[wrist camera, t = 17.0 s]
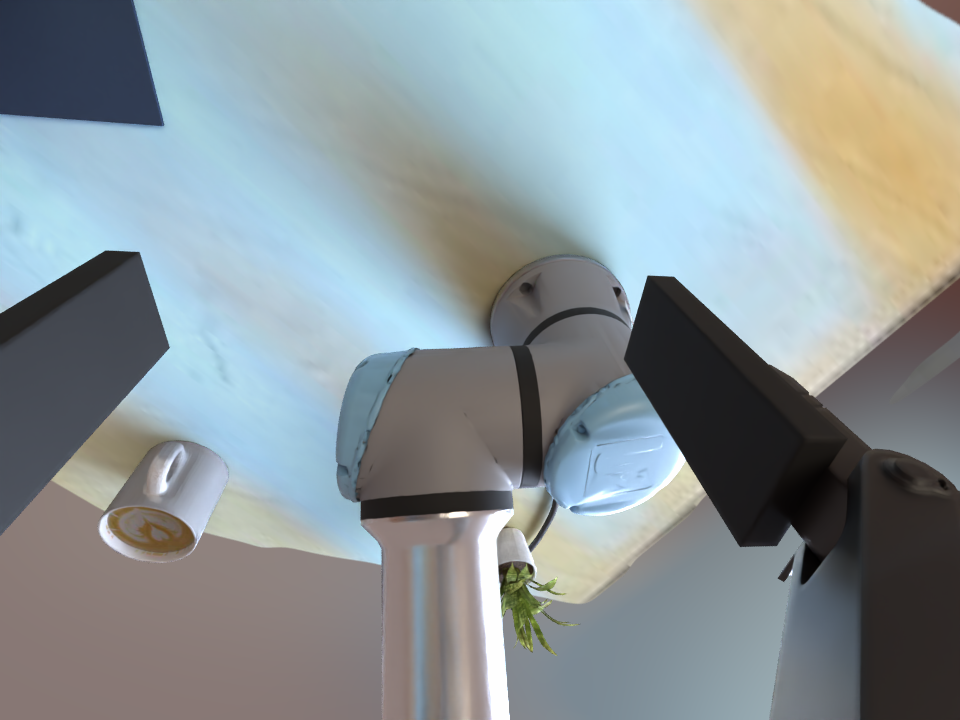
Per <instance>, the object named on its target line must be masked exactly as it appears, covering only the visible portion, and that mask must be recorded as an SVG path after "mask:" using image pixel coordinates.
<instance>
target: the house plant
mask: <svg viewBox="0 0 960 720" xmlns="http://www.w3.org/2000/svg"><path fill="white" fill-rule="evenodd" d="M496 546H497V559H498V572H499V586H500V597H501V596H502V595H503V593H504V596H503V598H502V600H503V603H502V606H501V613H502V618H503V616H504V615H505V612H506V610H507V609H511V608H512V612H513V619H514V626H515V630H516V634H517V636H518V637H517V640H518V638H519V641H520V642H521V644H522V645H523V647H524V648H526V647H527V648H528V649H529V650H530V651H531V652H532V651H533V644H532V636H531V628H530V623H529V620H530V622H531V624H532V626H533V628H534V631H535V633H536V635H537V637H538V639H539V641H540V642H541V644H542V645H543V647H545V648H546V649H547V650H548V651H549V652H551V653H552V654H555V652H554V651H552V649H551V648H550V647H549V645H548V644H547V642H546V640H545V639H544V637H543V634H542V632H541V630H540V628H539V625H538V624H537V622H536V621H535V619H534V617H533V615H535V614H537V613H538V612H540V611H541V610H543V608H546V607H547V606H548V605H550V603H551V602H552V600H551V601H550V602H548V603H546V604H545V605H543V606H541V605H540V603H541V602H538V601H537V600H536V599H535V598H534V597H533V596H532V595H531V594H530V592H529V591H528V589H527V587H526V585H528V584H529V583H530V582H533V583H535V584H537V585H539V586H540V587H538V588H535V587H532V586H530V585H529V586H530V587H531V588H533V589H536V590H538V591H545V590H547V591H548V592H550V593H552V594H555V595H565V594H563V593H556V592H553V591H551V590H549V589H551V588H553V587H554V585H555V583H556V580H557V578H556V579H554V580H552V581H550V582H548V583H547V584H545V585H541V584H539V583H537V582H535V581H533V580H534V578H535V577H536V574H537V569H536V566H535V564H534V561H533V559H532V556H531V553H530V551H529V548H528V545H527V543H526V540H525V538H524V535H523V533H522V532H521V531H520V530H518V529H516V528H503V529H501V531H500V532H499V534H498V536H497V539H496ZM504 591H505V592H504ZM502 600H501V602H502ZM546 601H547V599H546V600H545V601H544V602H543V603H545V602H546ZM541 612H542V611H541ZM542 613H543V612H542ZM543 614H544V613H543ZM544 615H545V616H547V615H546V614H544ZM527 616H528V617H527ZM548 616H549V615H548ZM548 616H547V617H548ZM528 618H529V620H528ZM548 618H549V617H548ZM549 619H550V620H552V618H551V617H550V618H549ZM552 621H553V622H555V623H557V624H560V625H564V626H574V625H577V624H572V625H571V624H562V623H567V622H559V621H556V620H554V619H553V620H552ZM524 623H525V629H526V634H525V631H524V628H523V625H524ZM526 635H527V637H526ZM528 644H529V645H528ZM525 645H526V647H525ZM529 646H530V647H529ZM555 655H556V654H555Z"/></svg>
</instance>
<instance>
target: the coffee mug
mask: <svg viewBox="0 0 960 720" xmlns="http://www.w3.org/2000/svg"><path fill="white" fill-rule="evenodd" d="M228 478H229V472H228V468H227V466H226V464H225V462H224V461H223V460H222V459H221V458H220V457H219V456H218V455H217V454H216V453H214V452H213V451H211V450H210V449H208V448H206V447H204V446H201V445H199V444H195V443H191V442H186V441H168V442H164V443H161V444H158V445H156V446H154V447H152V448H151V449H150V450H149V451H148V452H147V454H146V455H145V457H144V458H143V459H142V461H141V462H140V464H139V465H138V466H137V468H136V469H135V470H134V472H133V473H132V475H131V476H130V477H129V479H128V480H127V482H126V483H125V484H124V486H123V487H122V489H121V490H120V491H119V493H118V494H117V495H116V497H115V498H114V500H113V501H112V502H111V504H110V505H109V507H108V508H107V509H106V511H105V512H104V514H103V515H102V517H101V518H100V520H99V523H98V531H99V534H100V537H101V539H102V540H103V541H104V542H105V543H106V544H107V545H108V546H109V547H110V548H112V549H113V550H115V551H116V552H118V553H120V554H122V555H124V556H126V557H129V558H132V559H135V560H139V561H144V562H154V563H165V562H172V561H176V560H180V559H182V558H184V557H186V556H188V555H189V554H190V553H191V552H192V551H193V550H194V549H195V547H196V545H197V543H198V541H199V539H200V537H201V535H202V533H203V531H204V529H205V527H206V525H207V523H208V520H209V518H210V516H211V514H212V512H213V510H214V508H215V506H216V504H217V502H218V500H219V498H220V496H221V494H222V492H223V490H224V487H225V485H226V483H227V481H228Z"/></svg>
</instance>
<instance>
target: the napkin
mask: <svg viewBox="0 0 960 720" xmlns="http://www.w3.org/2000/svg"><path fill="white" fill-rule="evenodd" d="M0 114H9V115H22V116H35V117H49V118H62V119H76V120H89V121H102V122H116V123H129V124H143V125H156V126H164V123H163V119H162V115H161V111H160V107H159V103H158V99H157V95H156V91H155V87H154V83H153V79H152V75H151V71H150V67H149V63H148V59H147V55H146V51H145V47H144V43H143V39H142V35H141V31H140V27H139V23H138V19H137V15H136V11H135V7H134V3H133V0H0Z"/></svg>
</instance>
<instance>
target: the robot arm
mask: <svg viewBox="0 0 960 720" xmlns="http://www.w3.org/2000/svg"><path fill="white" fill-rule="evenodd" d="M631 322H632V324H633V328H632V330H631ZM490 330H491V335H492V340H493V344H494V346H492V347H473V348H454V349H423V350H420V349H419V348H411V349H409V350H407V351H400V352H391V353H380V354H374V355H371V356H369V357H367V358H365V359H364V360H363V361H362V362H361V363H360V364H359V365H358V366H357V367H356V369H355V371H354V373H353V374H352V376H351V378H350V380H349V383H348V385H347V388H346V391H345V395H344V398H343V402H342V407H341V412H340V417H339V424H338V432H337V441H336V462H337V463H338V467H337V483H338V487H339V490H340V492H341V494H342V496H343V497H344V498H346V499H349V500H351V501H352V502H355V503H356V502H361V526H362V527H363V528H364V529H365V530H367V531H368V532H369V533H370V534H371V535H372V536H373V537H374V538H375V539H376V540H377V541H378V543H379V545H380V547H381V549H382V720H509V707H508V694H507V680H506V668H505V667H506V666H505V653H504V640H503V627H502V613H501V599H500V586H499V572H498V559H497V546H496V539H497V536H498V534H499V532H500V531H501V529H502V528H503V527H504V526H505V524H506V523H507V522H508V520H509V519H510V518H511V516H512V515H513V514H514V509H513V499H512V490H513V489H519V488H533V487H546V489H547V491H548V492H549V495H551V496H552V497H553V498H554V499H553V504H552V507H551V510H550V513H549V515H548V517H547V519H546V521H545V523H544V525H543V526H542V528H541V530H540V531H539V533H538V535H537V536H536V538H535V539H534V541H533V542H532V543H531V544H530V546H529V547H528V548H529V551H530V553H531V552H532V551H533V550H534V548H535V547H536V546H537V545H538V543H539V542H540V540H541V539H542V537H543V536H544V534H545V532H546V531H547V529H548V527H549V526H550V524H551V522H552V520H553V518H554V516H555V514H556V511H557V508H558V505H560V506H561V507H563V508H569V509H570V510H571V511H572V512H573V513H576V514H580V515H588V516H600V515H608V514H613V513H617V512H621V511H624V510H627V509H629V508H632V507H634V506H636V505H638V504H640V503H642V502H644V501H645V500H647V499H649V498H651V497H652V496H654V495H655V493H656V492H657V491H658V490H660V489H661V488H663V487H664V486H666V485H667V484H668V483H669V482H670V481H671V480H672V479H673V478H674V477H675V475H676V474H677V473H678V471H679V470H680V469H681V467H682V465H683V464H684V462H685V460H686V461H687V462H688V464H689V466H690V467H691V469H692V470H693V472H694V474H695V475H696V477H697V478H698V480H699V482H700V483H701V485H702V487H703V488H704V490H705V491H706V493H707V495H708V496H709V498H710V499H711V501H712V502H713V504H714V506H715V507H716V509H717V511H718V512H719V514H720V516H721V517H722V519H723V520H724V522H725V524H726V525H727V527H728V528H729V530H730V532H731V533H732V535H733V536H734V538H735V540H736V541H737V543H738V545H739V546H740V547H749V546H750V547H751V546H777V545H778V543H779V542H780V540H781V539H782V537H783V536H784V534H785V533H786V531H787V530H788V528H789V527H790V525H792V526H793V527H794V528H795V530H796V531H797V532H798V534H799V535H800V536H801V538H802V539H803V540H804V541H803V542H802V544H801V545H800V546H799V548H798V549H797V551H796V552H795V554H794V555H793V556H792V558H791V559H790V561H789V562H788V563H787V565H786V566H785V568H784V569H783V570H782V572H781V574H780V576H779V577H778V579H780V580H781V581H783V582H784V581H785V580H786V579H787V577H788V576H789V575H791V574H792V576H791V583H790V589H789V596H788V602H787V608H786V615H785V621H784V628H783V634H782V640H781V647H780V653H779V660H778V666H777V673H776V680H775V685H774V692H773V699H772V705H771V711H770V718H769V720H960V491H958V490H957V489H956V487H955V486H954V485H953V484H952V483H951V482H950V481H949V480H948V479H947V478H946V477H945V476H944V475H943V474H941V473H940V472H938V471H936V470H935V469H933V468H932V467H930V466H929V465H927V464H926V463H923V462H921V461H919V460H916V459H915V458H913V457H910V456H908V455H905V454H902V453H898V452H895V451H891V450H883V449H873V450H872V449H871V448H870V447H869V446H868V445H866V444H865V443H864V442H863V441H862V440H861V439H860V438H859V437H858V436H857V435H856V434H854V433H853V432H852V431H851V430H850V429H849V428H848V427H847V426H845V425H844V424H843V423H842V422H841V421H840V420H839V419H838V418H837V417H836V416H834V415H833V414H832V413H831V412H830V411H829V410H828V409H826V408H823V407H822V406H823V405H822V404H821V403H820V402H819V401H818V400H817V399H816V398H815V397H813V396H811V395H809V392H808V391H807V390H806V389H805V388H803V387H802V386H801V385H800V384H799V383H798V382H797V381H796V380H795V379H794V378H792V377H791V376H789V375H787V374H785V373H784V372H782V371H780V370H778V369H777V368H775V367H773V366H772V365H768V364H767V363H766V362H765V361H764V360H763V359H762V358H761V357H760V356H759V355H757V354H756V353H755V352H754V351H753V350H752V349H751V348H750V347H749V346H748V345H747V344H746V343H745V342H743V341H742V340H741V339H740V338H739V337H738V336H737V335H736V334H735V333H734V332H733V331H732V330H731V329H729V328H728V327H727V326H726V325H725V324H724V323H723V322H722V321H721V320H720V319H719V318H718V317H717V316H716V315H714V314H713V313H712V312H711V311H710V310H709V309H708V308H707V307H706V306H705V305H704V304H703V303H702V302H700V301H699V300H698V299H697V298H696V297H695V296H694V295H693V294H692V293H691V292H690V291H689V290H688V289H686V288H685V287H684V286H683V285H682V284H681V283H680V282H679V281H678V280H677V279H676V278H675V277H667V276H647V280H646V283H645V287H644V290H643V294H642V297H641V301H640V304H639V308H638V311H637V314H636V318H635V321H634V322H633V319H632V317H631V314H630V306H629V302H628V299H627V296H626V293H625V291H624V289H623V287H622V286H621V284H620V282H619V281H618V280H617V279H616V277H615V276H614V275H613V274H612V273H611V272H610V271H609V270H608V269H607V268H606V267H604V266H603V265H602V264H600V263H598V262H596V261H594V260H592V259H589V258H586V257H583V256H578V255H555V256H550V257H546V258H542V259H540V260H537V261H535V262H532V263H530V264H528V265H527V266H525V267H523V268H522V269H521V270H519V271H518V272H516V273H515V274H514V275H513V276H512V277H511V278H510V279H509V280H508V281H507V282H506V283H505V285H504V286H503V287H502V289H501V290H500V292H499V293H498V295H497V297H496V299H495V302H494V304H493V307H492V311H491V317H490ZM169 348H170V347H169V344H168V341H167V338H166V334H165V331H164V328H163V325H162V322H161V319H160V315H159V312H158V309H157V306H156V303H155V300H154V296H153V293H152V290H151V287H150V284H149V281H148V278H147V274H146V271H145V268H144V265H143V262H142V259H141V255H140V252H127V251H104V252H103V253H101V254H99V255H98V256H96V257H94V258H92V259H91V260H89V261H87V262H86V263H84V264H82V265H81V266H79V267H77V268H76V269H74V270H72V271H71V272H69V273H67V274H66V275H64V276H62V277H61V278H59V279H57V280H56V281H54V282H52V283H51V284H49V285H47V286H46V287H44V288H42V289H41V290H39V291H37V292H36V293H34V294H32V295H31V296H29V297H27V298H26V299H24V300H22V301H21V302H19V303H17V304H16V305H14V306H12V307H11V308H9V309H7V310H6V311H4V312H2V313H1V314H0V535H2V533H3V532H4V531H5V530H6V529H7V528H8V527H9V526H10V525H11V523H12V522H13V521H14V520H15V519H16V518H17V517H18V516H19V515H20V513H21V512H22V511H23V510H24V509H25V508H26V507H27V506H28V505H29V503H30V502H31V501H32V500H33V499H34V498H35V497H36V496H37V495H38V493H39V492H40V491H41V490H42V489H43V488H44V487H45V486H46V485H47V483H48V482H49V481H50V480H51V479H52V478H53V477H54V476H55V475H56V473H57V472H58V471H59V470H60V469H61V468H62V467H63V466H64V465H65V463H66V462H67V461H68V460H69V459H70V458H71V457H72V456H73V455H74V453H75V452H76V451H77V450H78V449H79V448H80V447H81V446H82V445H83V443H84V442H85V441H86V440H87V439H88V438H89V437H90V436H91V435H92V434H93V432H94V431H95V430H96V429H97V428H98V427H99V426H100V425H101V424H102V422H103V421H104V420H105V419H106V418H107V417H108V416H109V415H110V414H111V412H112V411H113V410H114V409H115V408H116V407H117V406H118V405H119V404H120V402H121V401H122V400H123V399H124V398H125V397H126V396H127V395H128V394H129V392H130V391H131V390H132V389H133V388H134V387H135V386H136V385H137V384H138V382H139V381H140V380H141V379H142V378H143V377H144V376H145V375H146V374H147V372H148V371H149V370H150V369H151V368H152V367H153V366H154V365H155V364H156V362H157V361H158V360H159V359H160V358H161V357H162V356H163V355H164V354H165V352H166V351H167V350H168V349H169ZM504 592H505V591H504ZM511 610H512V608H511Z"/></svg>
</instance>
